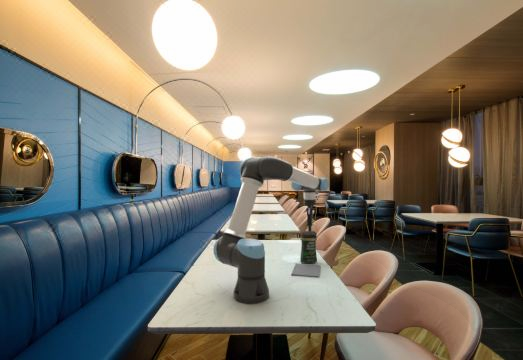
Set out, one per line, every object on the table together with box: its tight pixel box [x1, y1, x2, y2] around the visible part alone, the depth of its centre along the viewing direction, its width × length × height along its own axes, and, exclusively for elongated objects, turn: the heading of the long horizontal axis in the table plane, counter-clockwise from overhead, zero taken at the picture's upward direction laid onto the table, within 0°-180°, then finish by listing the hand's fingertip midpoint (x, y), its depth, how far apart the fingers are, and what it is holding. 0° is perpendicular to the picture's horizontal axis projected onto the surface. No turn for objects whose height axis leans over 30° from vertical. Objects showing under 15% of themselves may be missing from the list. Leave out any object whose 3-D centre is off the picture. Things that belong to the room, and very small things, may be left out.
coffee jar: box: [300, 230, 318, 265], centre depth 159 cm, size 10×8×19 cm
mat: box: [290, 263, 321, 278], centre depth 145 cm, size 18×14×1 cm
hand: (310, 235), depth 171 cm, fingers closed
